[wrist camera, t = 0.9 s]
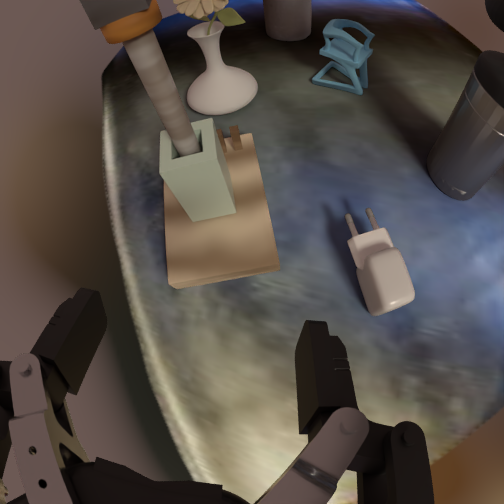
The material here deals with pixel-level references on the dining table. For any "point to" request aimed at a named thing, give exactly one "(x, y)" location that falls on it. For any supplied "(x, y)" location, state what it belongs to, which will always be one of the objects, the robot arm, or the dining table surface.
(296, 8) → the pillar candle
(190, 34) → the flower in vase
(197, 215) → the square hollow tube
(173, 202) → the post
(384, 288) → the power adapter
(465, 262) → the dining table surface
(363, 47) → the chair
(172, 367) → the dining table surface
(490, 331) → the dining table surface
